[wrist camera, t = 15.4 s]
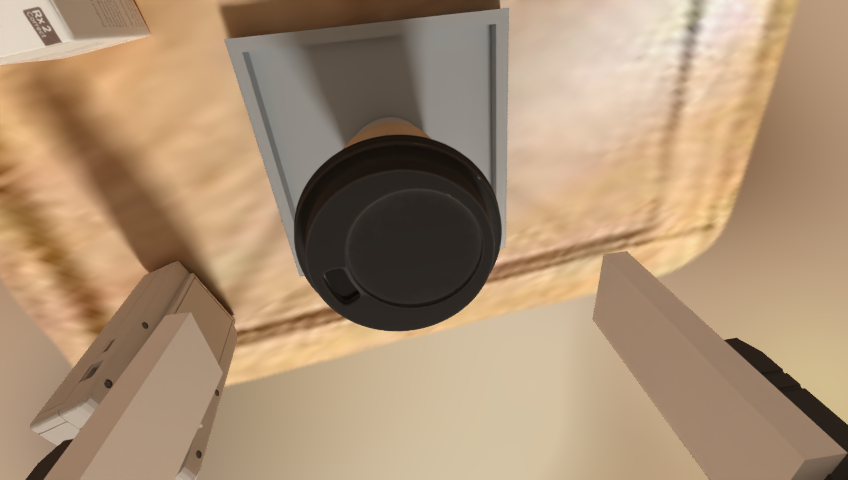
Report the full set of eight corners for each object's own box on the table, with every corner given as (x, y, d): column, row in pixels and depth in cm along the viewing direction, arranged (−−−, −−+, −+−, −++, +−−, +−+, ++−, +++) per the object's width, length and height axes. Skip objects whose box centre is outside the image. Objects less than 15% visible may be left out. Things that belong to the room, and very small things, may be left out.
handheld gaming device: (182, 255, 31) (140, 275, 31) (90, 397, 19) (18, 431, 19) (246, 326, 36) (210, 344, 36) (207, 479, 23) (150, 507, 23)
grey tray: (234, 38, 24) (224, 39, 23) (500, 9, 25) (508, 7, 24) (303, 264, 33) (299, 276, 31) (499, 237, 34) (505, 247, 32)
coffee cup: (304, 168, 28) (241, 285, 15) (376, 59, 25) (373, 90, 12) (403, 232, 32) (421, 370, 19) (477, 143, 29) (559, 236, 16)
